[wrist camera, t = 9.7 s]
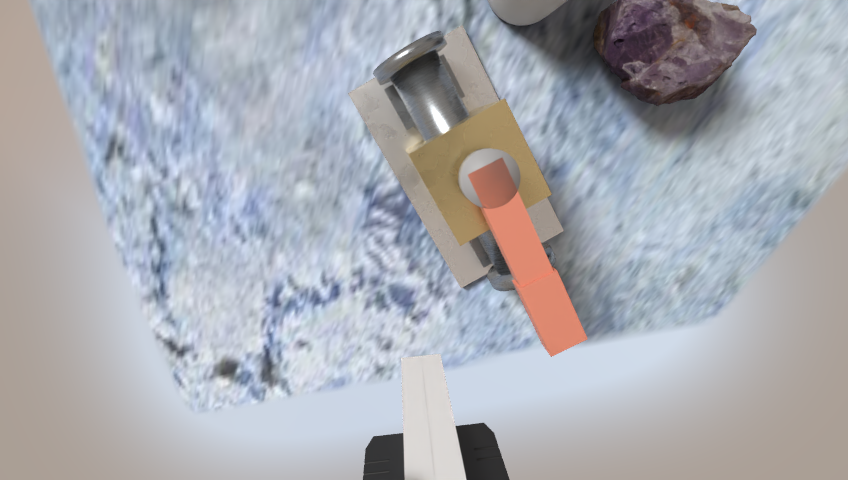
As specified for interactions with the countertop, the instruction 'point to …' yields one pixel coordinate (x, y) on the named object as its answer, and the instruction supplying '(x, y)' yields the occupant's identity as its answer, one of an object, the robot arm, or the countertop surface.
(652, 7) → the rock
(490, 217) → the lever
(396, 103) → the valve
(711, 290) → the countertop surface
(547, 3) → the cup
